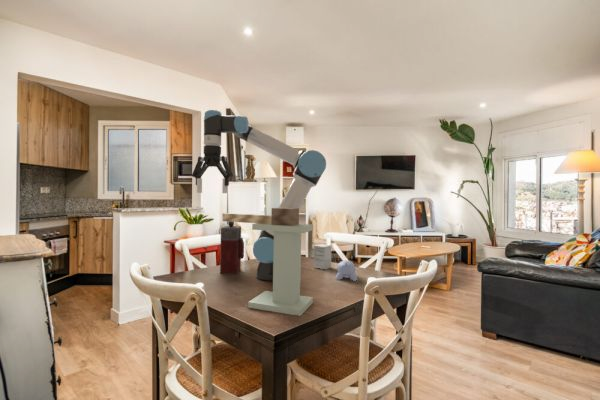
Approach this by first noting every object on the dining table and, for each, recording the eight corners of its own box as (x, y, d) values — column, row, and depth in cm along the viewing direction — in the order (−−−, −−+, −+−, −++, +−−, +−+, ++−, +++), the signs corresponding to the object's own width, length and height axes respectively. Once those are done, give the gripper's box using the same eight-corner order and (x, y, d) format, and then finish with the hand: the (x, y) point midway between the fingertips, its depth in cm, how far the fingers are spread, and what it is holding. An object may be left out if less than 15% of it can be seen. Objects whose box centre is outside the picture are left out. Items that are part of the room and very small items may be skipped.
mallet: (219, 221, 121) (219, 206, 121) (229, 220, 128) (229, 205, 128) (291, 226, 111) (292, 209, 111) (298, 224, 118) (299, 208, 117)
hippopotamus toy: (357, 274, 163) (358, 256, 162) (357, 282, 148) (358, 262, 148) (336, 273, 165) (337, 255, 164) (334, 281, 150) (335, 261, 150)
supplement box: (320, 265, 181) (320, 243, 181) (331, 267, 177) (331, 245, 176) (313, 267, 175) (313, 245, 175) (324, 270, 171) (325, 246, 170)
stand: (248, 307, 114) (249, 224, 113) (265, 295, 127) (266, 221, 126) (300, 316, 107) (302, 227, 106) (312, 302, 120) (314, 224, 119)
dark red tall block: (242, 273, 159) (243, 218, 159) (220, 273, 159) (220, 218, 158) (244, 269, 168) (245, 217, 168) (223, 269, 168) (224, 216, 167)
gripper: (184, 145, 142) (183, 192, 143) (231, 143, 134) (231, 193, 134) (195, 147, 149) (194, 192, 150) (241, 146, 141) (240, 193, 142)
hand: (211, 193), depth 142 cm, fingers open, 13 cm apart
